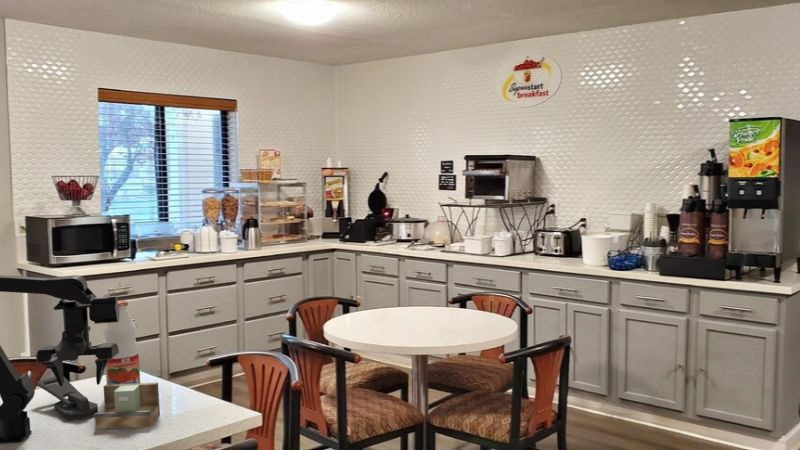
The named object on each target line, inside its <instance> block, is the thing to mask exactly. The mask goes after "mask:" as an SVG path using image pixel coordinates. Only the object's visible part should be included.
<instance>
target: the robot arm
mask: <svg viewBox="0 0 800 450" xmlns="http://www.w3.org/2000/svg"><path fill="white" fill-rule="evenodd" d="M0 292H1V293H2V292H3V293H20V294H33V295H34V294H36V295H38V294H39V295H47V296H51V297H53V298H55V299H59V301H58V302H57V304H56V305H55V306H54V307H53V310H54V311H58V310H59V311H61V310H62V318H63V320H62V321H63V329H64V330H63V331H62V334H61V340H60V341H59V343H58V344H57V345H45V346H43V347H42V348H39V350H37V351H36V354H35V361H36V362H37V363H41V364H42V365H45V366H47V367H49V368H50V369H51V371H52V373H53V375H54V377H56V379H57V381H58V382H57V383H59V385H60V386H63V382H64V377H65V376H64V361H70V362H74V361H77V359H79V356H95V357H96V359H95V360H94V363H95V366H96V371H95V372H96V374H95V376H96V377H95V380H96V385H100V384H101V381H102V377H103V375H104V372H105V371H106V365H107V363H108V361H109V360H110V359H111V358H113V357H114V356H115V355H117V354H118V353H119V349H118V345H117V344H116V343H106V342H105V343H101V344H99V345H98V346H96V347H92V341H90V331H91V326H89V321H91V322H94V324H95V325H97V324H107V323H113V322H119V315H120V314H119V307H118V301H119V300H118V299H117V297H118V296H117V295H112V296H111V295H110V296H103V297H97V295H96V294H95V293H94V292H93V291H92V290H91V289H90V288H89V287H88V282H87V280H86V279H85V278H84V277H83V276H82V275H78V274H76V275H75V274H74V275H64V276H56V277H34V276H18V275H4V274H0ZM35 386H36V383H34V382H33V381H32V380H31V377H30V375H29V373H28V372H25V373H23V374H21V373H20V372H18V371H17V370H16V369H15V368H14V366H13V364H12V363H11V361H10V358H8V356H7V354H6V353H5V350H4V349H3V348H2V345H0V398H1V399H0V400H1V401H2V403H1V404H0V443H1V444H2V443H17V442H22V441H24V439H26V438H27V437H28V436H29V435H30V434H32V433H33V431H32V430H31V420H30V419H31V418H30V417H28V411H27V410H25V409H26V408H27V406H28V404H30V402H31V401H32V400H33V398H34V397H35V394H36V392H35V391H36V390H35V388H34V387H35Z"/></svg>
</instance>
